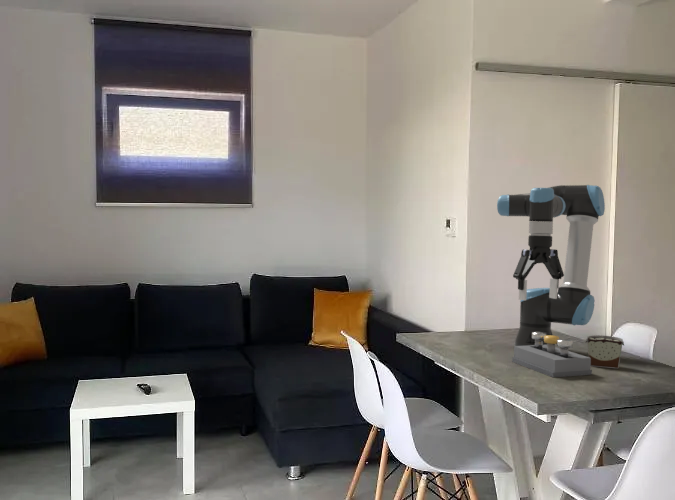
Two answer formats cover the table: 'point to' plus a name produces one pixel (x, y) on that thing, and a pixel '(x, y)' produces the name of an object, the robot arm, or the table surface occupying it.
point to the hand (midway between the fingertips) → (538, 299)
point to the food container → (604, 350)
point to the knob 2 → (564, 347)
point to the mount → (552, 361)
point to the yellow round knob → (551, 343)
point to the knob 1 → (538, 339)
